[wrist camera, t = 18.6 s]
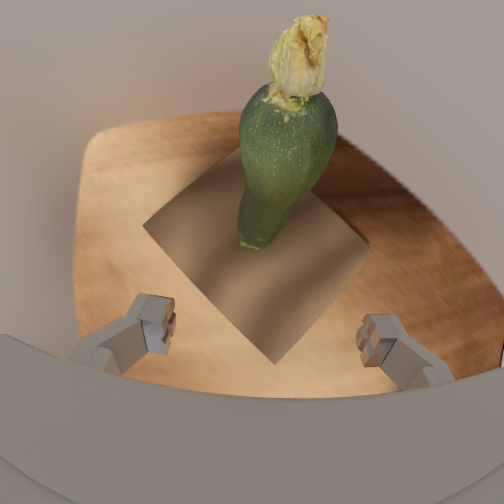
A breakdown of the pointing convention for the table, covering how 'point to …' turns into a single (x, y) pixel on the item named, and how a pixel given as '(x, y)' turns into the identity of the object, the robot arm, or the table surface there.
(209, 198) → the cutting board
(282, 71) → the vegetable
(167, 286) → the table surface
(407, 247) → the table surface
